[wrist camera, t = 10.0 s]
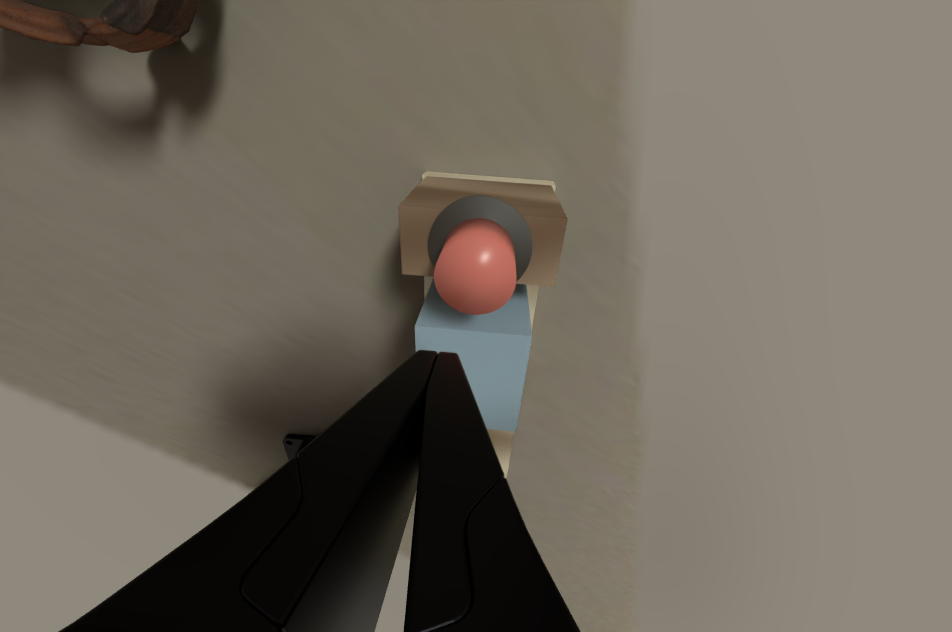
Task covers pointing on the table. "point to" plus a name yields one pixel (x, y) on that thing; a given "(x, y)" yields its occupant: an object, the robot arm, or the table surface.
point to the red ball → (476, 267)
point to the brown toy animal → (104, 23)
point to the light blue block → (483, 350)
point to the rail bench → (494, 198)
